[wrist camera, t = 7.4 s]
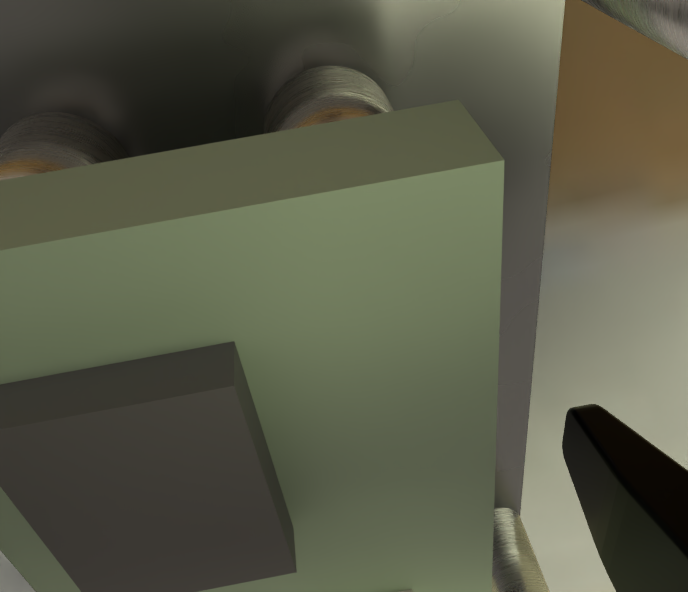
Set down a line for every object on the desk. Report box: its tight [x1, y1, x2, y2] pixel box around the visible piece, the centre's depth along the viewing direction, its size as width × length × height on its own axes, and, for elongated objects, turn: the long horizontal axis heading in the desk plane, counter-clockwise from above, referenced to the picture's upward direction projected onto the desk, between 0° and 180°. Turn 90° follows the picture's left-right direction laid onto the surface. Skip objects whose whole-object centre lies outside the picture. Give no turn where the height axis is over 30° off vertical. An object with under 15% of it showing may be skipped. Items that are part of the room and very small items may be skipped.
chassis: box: [0, 0, 688, 592], centre depth 10 cm, size 10×14×6 cm
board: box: [0, 100, 505, 592], centre depth 9 cm, size 6×10×2 cm, turn 7°
